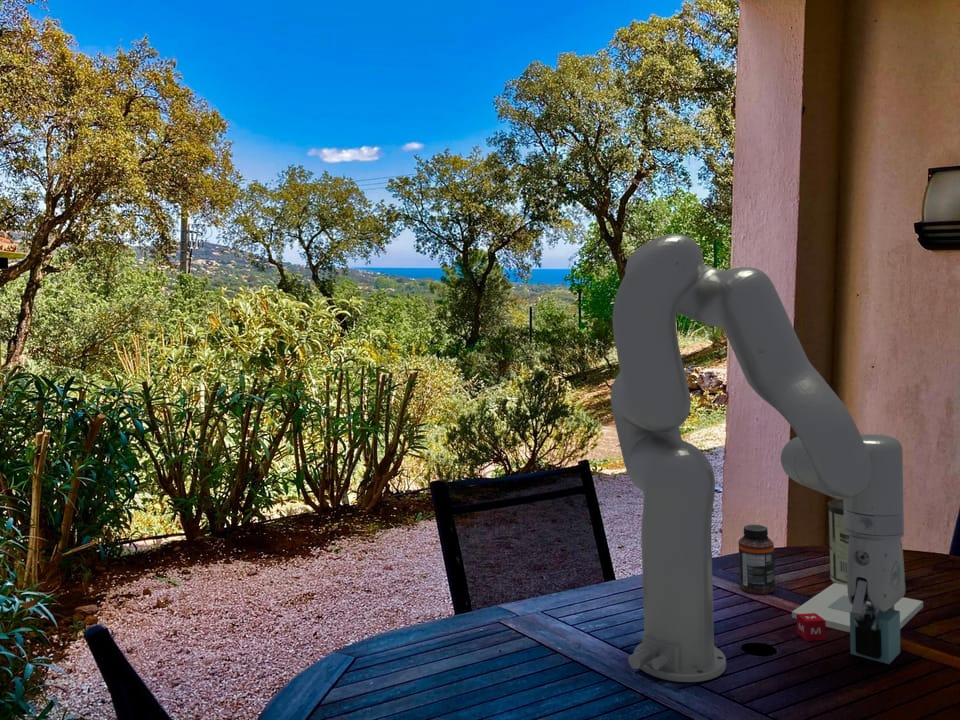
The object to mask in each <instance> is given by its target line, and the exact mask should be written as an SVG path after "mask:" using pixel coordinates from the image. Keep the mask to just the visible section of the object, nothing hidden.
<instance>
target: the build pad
mask: <svg viewBox="0 0 960 720" xmlns="http://www.w3.org/2000/svg"><path fill="white" fill-rule="evenodd" d="M866 604H870V605H871V602H869V601H866ZM852 606H853V605H852V604H851V603H850V602H849V600H848V590H847V585H842V584H837V583H835V582H833V583H832V584H831V585H829V586H828V587H826V588H825V589H823V590H822V591H820V592H819V593H817V594H816V595H814V596H813V597H812V598H810V599H809V600H807V601H805V602H804V603H803V604H801V605H800V606H798V607H797V608H795V609H794V610H792V611H791V618H792V619H794V618H795V619H794V620H797V616H796V614H808V613H816V614H817V615H819V616H820V617H821V618H823V619H824V620H825V621H826V628H831V629H833V630H837V631H843V632H847V633H850V612H851V611H852ZM923 608H924V601H923V600H919V599H914V598H910V597H904V596H903V597H902V598H901V599H900V600H899V601H898V602H897V603H896V604H895V605H894V609H895V610H897V611H900V630H902V628H903V627H904V626H905V625H907V624H908V623H909V621H911V619H913V618H914V617H915V616H916V615H917V614H918V613H919V612H920V611H922V609H923Z"/></svg>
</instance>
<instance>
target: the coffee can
mask: <svg viewBox="0 0 960 720" xmlns="http://www.w3.org/2000/svg"><path fill="white" fill-rule="evenodd" d="M827 507H828V525H829V526H828V527H829V529H828V530H829V531H828V532H829V533H828V534H829V538H828V539H829V566H830V568H829V569H830V570H829V571H830V572H829V573H830V575H829V579H830V580H831V581H832V582H833V583H837V584H842V585H847V564H848V545H849V534H847V533H846V532H845V531H844V501H843V499H841V498H837V499H832V500H829V501H828V502H827Z"/></svg>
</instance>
